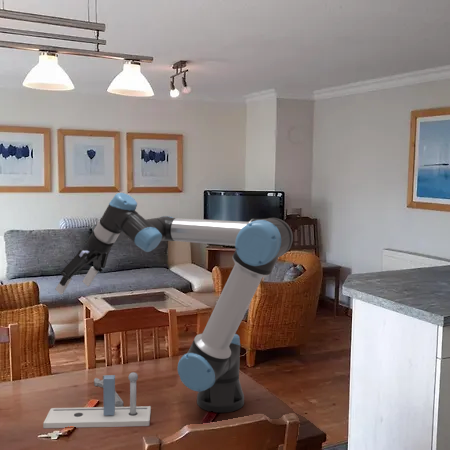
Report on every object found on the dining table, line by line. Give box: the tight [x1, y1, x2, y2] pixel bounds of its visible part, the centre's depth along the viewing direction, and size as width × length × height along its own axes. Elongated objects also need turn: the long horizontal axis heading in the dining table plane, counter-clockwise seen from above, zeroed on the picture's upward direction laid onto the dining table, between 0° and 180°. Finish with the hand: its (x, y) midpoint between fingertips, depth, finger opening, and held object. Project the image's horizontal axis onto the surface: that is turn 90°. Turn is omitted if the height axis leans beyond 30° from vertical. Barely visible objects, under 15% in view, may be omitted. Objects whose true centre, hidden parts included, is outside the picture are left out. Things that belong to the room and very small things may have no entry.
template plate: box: [42, 371, 152, 429], centre depth 163 cm, size 30×10×14 cm, turn 95°
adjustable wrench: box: [93, 374, 124, 407], centre depth 184 cm, size 25×6×2 cm, turn 22°
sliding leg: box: [102, 374, 116, 415], centre depth 164 cm, size 3×3×11 cm
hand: (72, 287), depth 180 cm, fingers open, 13 cm apart
